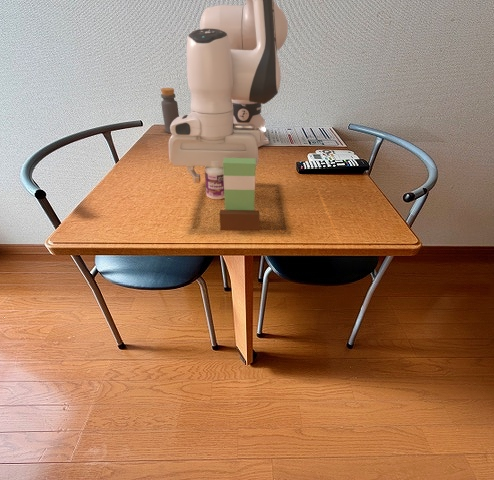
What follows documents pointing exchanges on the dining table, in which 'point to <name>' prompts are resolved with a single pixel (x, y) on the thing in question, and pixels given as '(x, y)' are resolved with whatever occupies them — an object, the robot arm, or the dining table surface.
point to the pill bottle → (214, 181)
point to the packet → (239, 183)
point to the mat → (241, 217)
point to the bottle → (169, 107)
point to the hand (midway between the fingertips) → (216, 182)
